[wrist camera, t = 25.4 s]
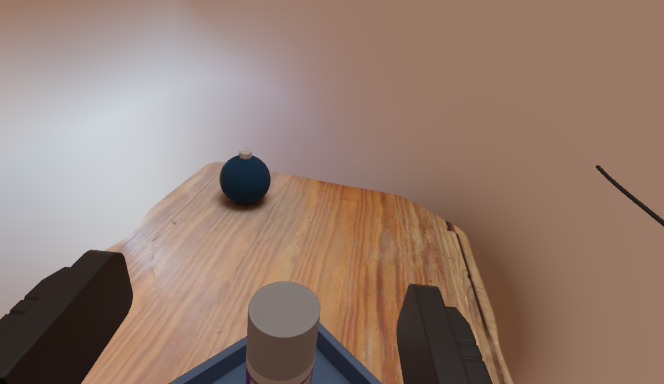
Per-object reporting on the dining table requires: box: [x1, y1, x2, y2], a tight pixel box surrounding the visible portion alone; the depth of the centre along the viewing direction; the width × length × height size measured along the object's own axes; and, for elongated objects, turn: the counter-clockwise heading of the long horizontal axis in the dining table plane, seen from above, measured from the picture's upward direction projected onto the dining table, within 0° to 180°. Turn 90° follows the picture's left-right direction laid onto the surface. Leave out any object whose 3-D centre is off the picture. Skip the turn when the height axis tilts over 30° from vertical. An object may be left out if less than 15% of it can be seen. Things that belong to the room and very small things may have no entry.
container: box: [246, 282, 320, 384], centre depth 25 cm, size 5×5×15 cm
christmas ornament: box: [220, 149, 270, 204], centre depth 58 cm, size 8×8×10 cm
